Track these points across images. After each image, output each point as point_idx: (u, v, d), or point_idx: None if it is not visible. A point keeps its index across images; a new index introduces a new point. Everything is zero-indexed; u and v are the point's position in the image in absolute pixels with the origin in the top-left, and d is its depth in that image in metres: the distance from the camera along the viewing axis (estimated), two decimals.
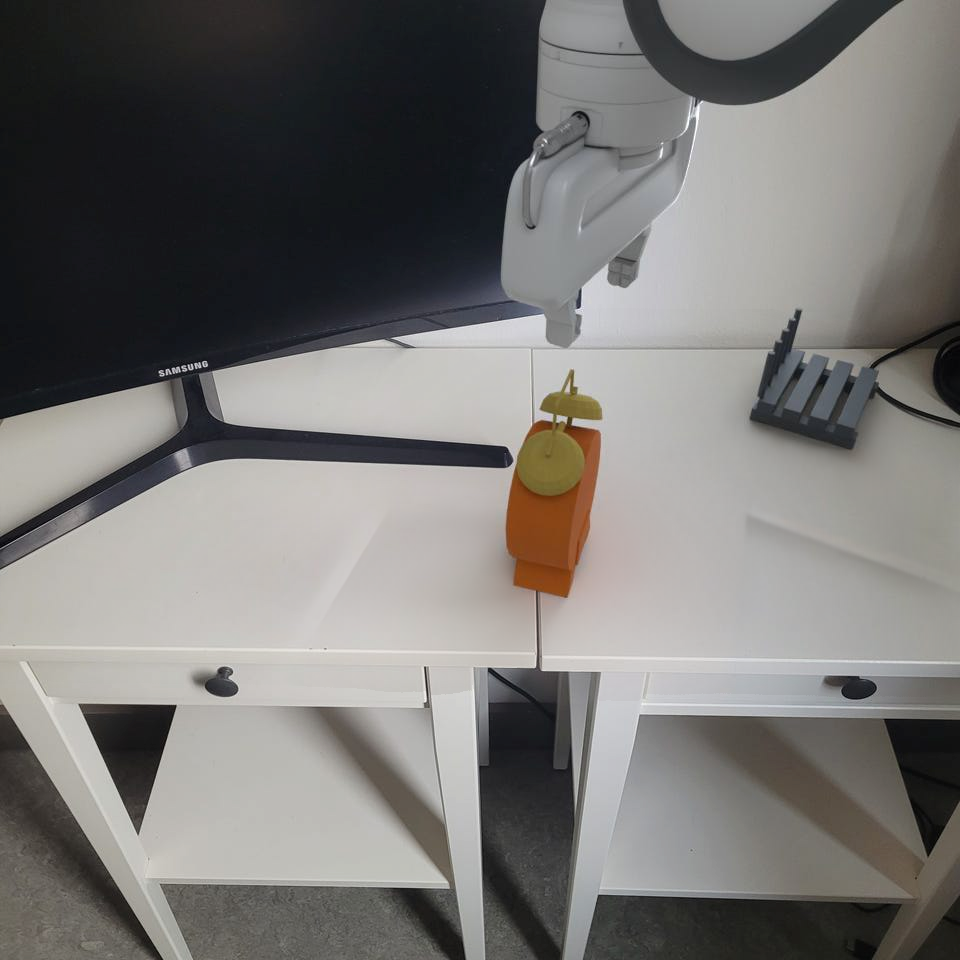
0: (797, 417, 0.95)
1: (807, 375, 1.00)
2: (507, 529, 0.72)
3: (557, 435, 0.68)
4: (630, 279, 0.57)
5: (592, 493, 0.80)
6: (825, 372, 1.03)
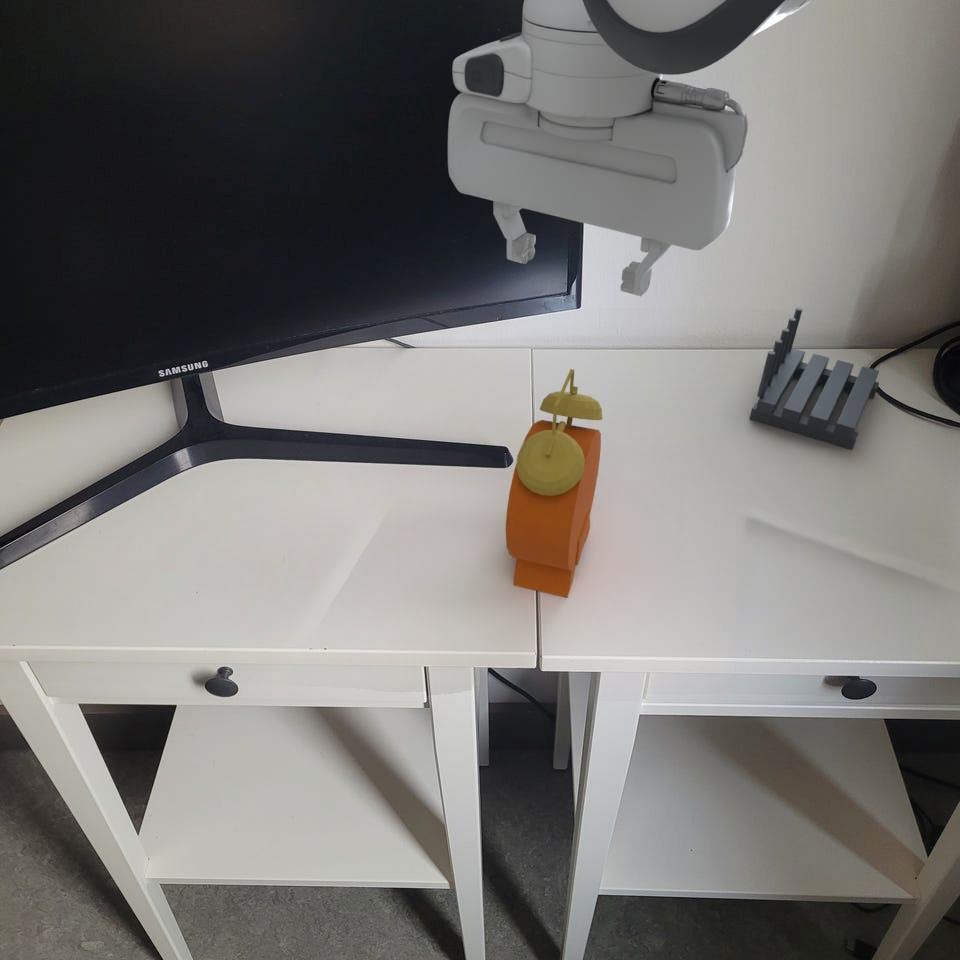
0: (797, 417, 0.95)
1: (807, 375, 1.00)
2: (507, 529, 0.72)
3: (557, 434, 0.68)
4: (533, 248, 0.62)
5: (592, 493, 0.80)
6: (825, 372, 1.03)
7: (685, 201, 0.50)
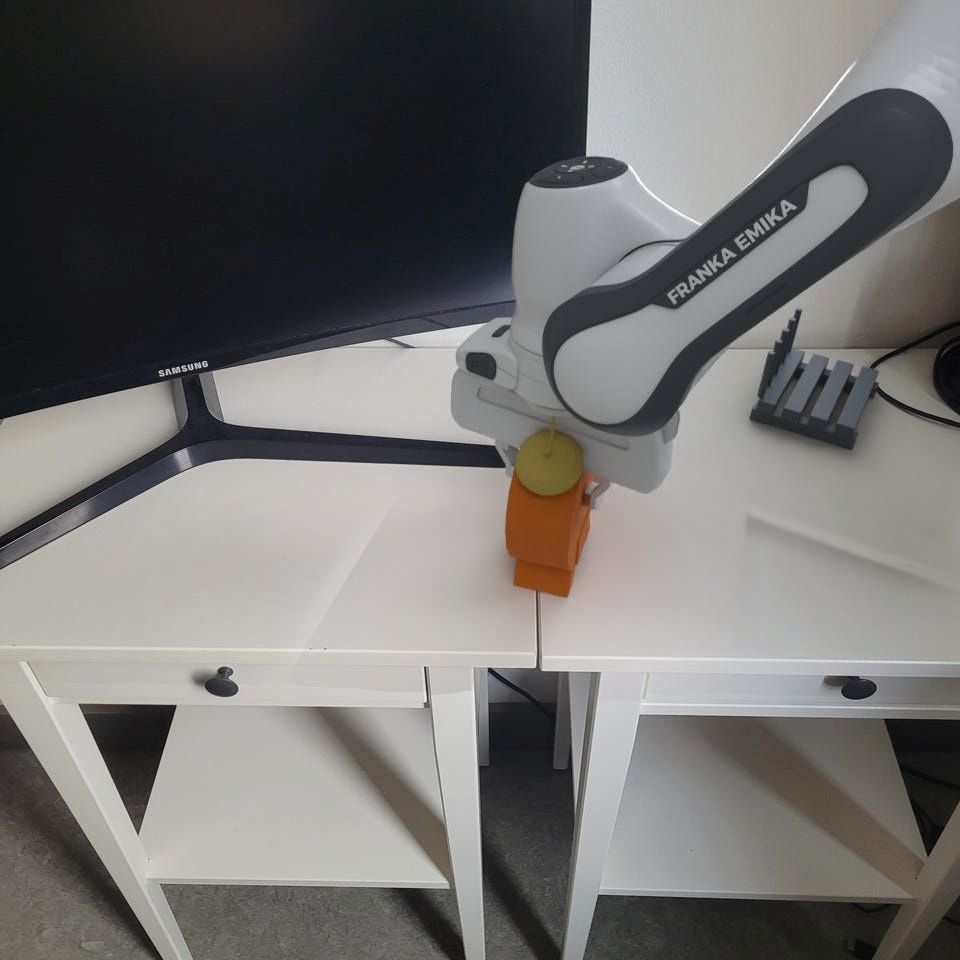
0: (797, 417, 0.95)
1: (807, 375, 1.00)
2: (507, 530, 0.72)
3: (555, 434, 0.68)
4: None
5: None
6: (825, 372, 1.03)
7: (636, 463, 0.66)
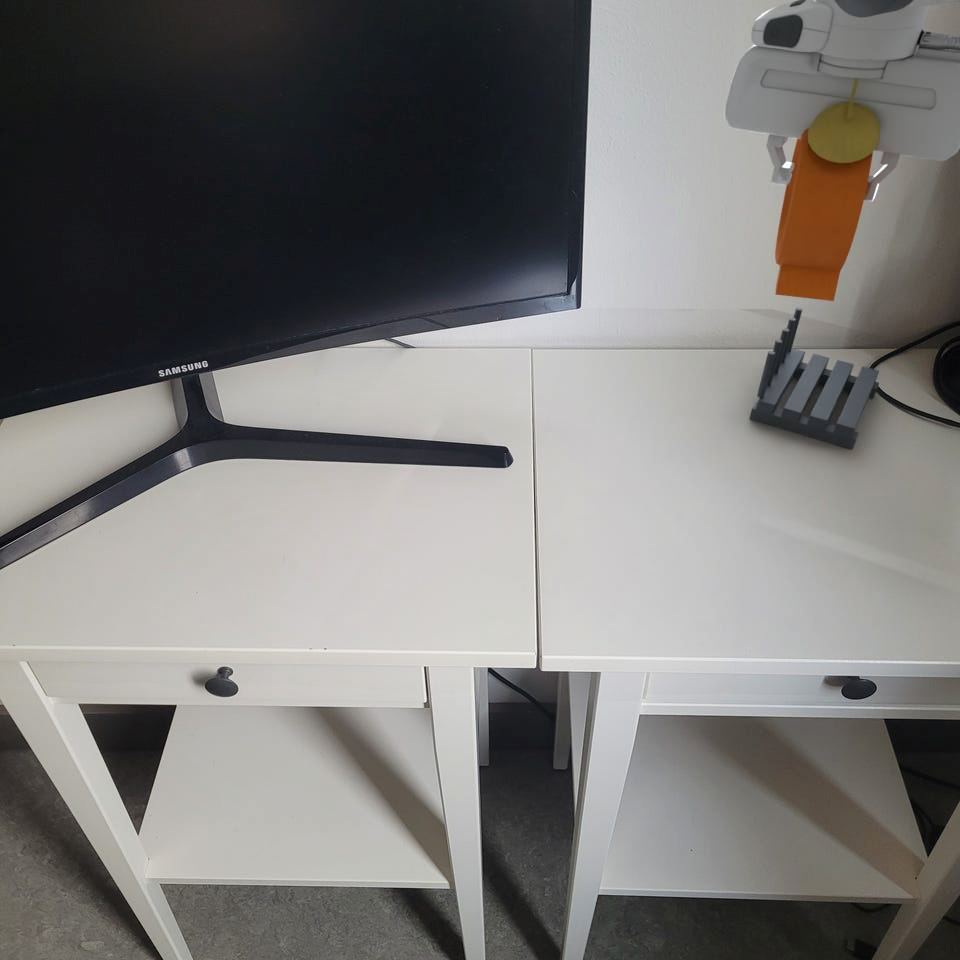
0: (797, 417, 0.95)
1: (807, 375, 1.00)
2: (791, 214, 0.73)
3: (853, 103, 0.69)
4: (790, 174, 0.78)
5: None
6: (825, 372, 1.03)
7: (940, 122, 0.68)
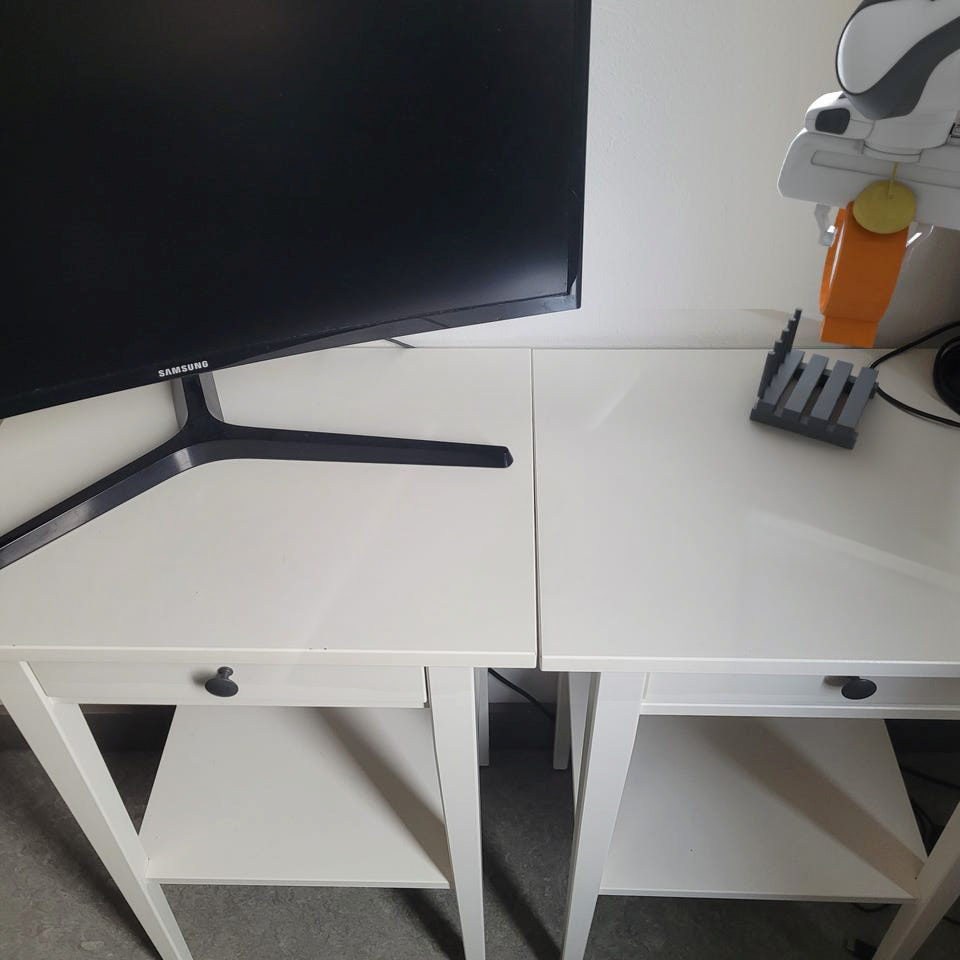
0: (797, 417, 0.95)
1: (807, 375, 1.00)
2: (837, 275, 0.84)
3: (893, 182, 0.80)
4: (834, 236, 0.89)
5: None
6: (825, 372, 1.03)
7: None
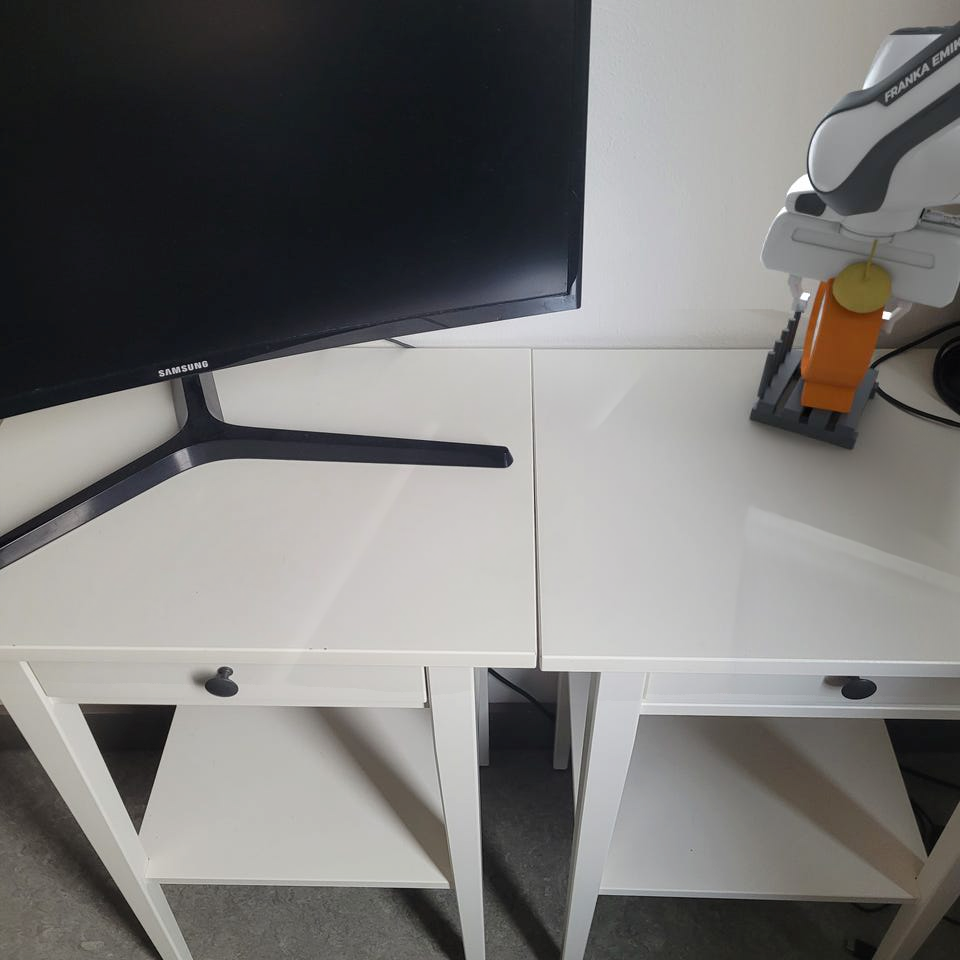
0: (797, 417, 0.95)
1: None
2: (817, 348, 0.89)
3: (870, 264, 0.85)
4: (807, 302, 0.95)
5: None
6: None
7: (938, 279, 0.84)
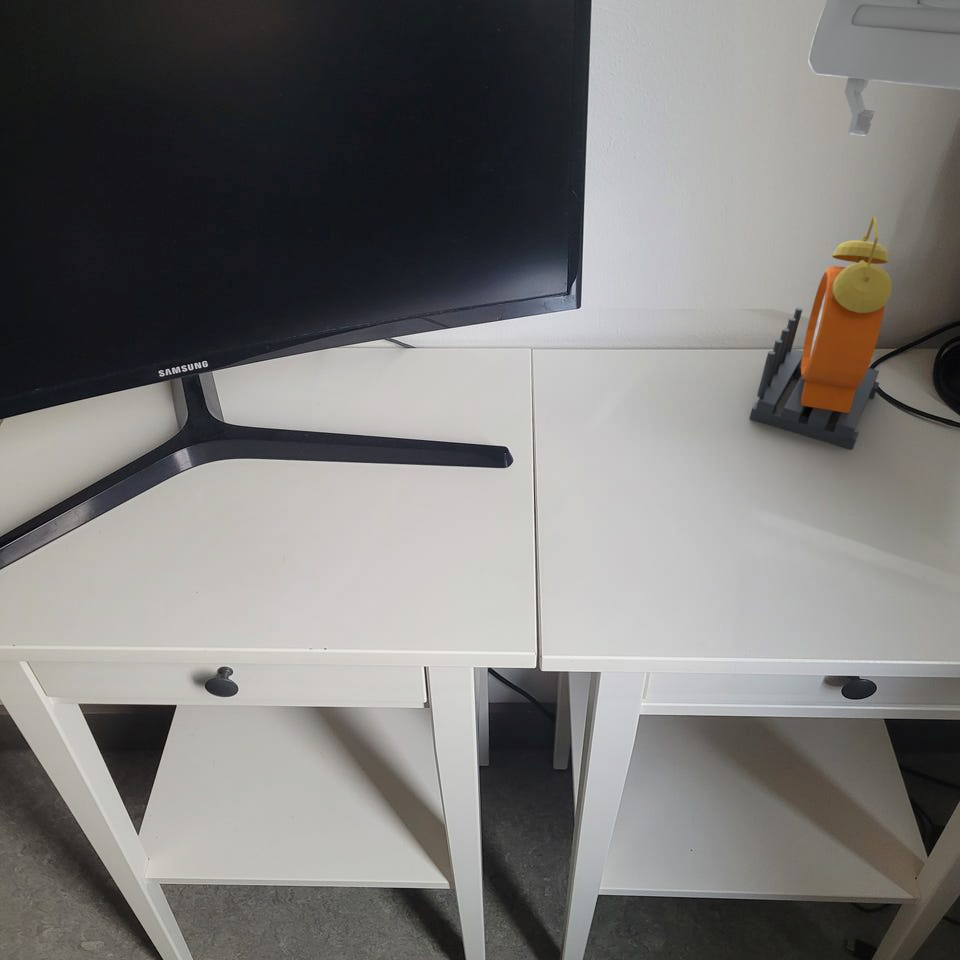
0: (797, 417, 0.95)
1: None
2: (817, 348, 0.89)
3: (870, 264, 0.85)
4: (869, 123, 0.72)
5: None
6: None
7: None
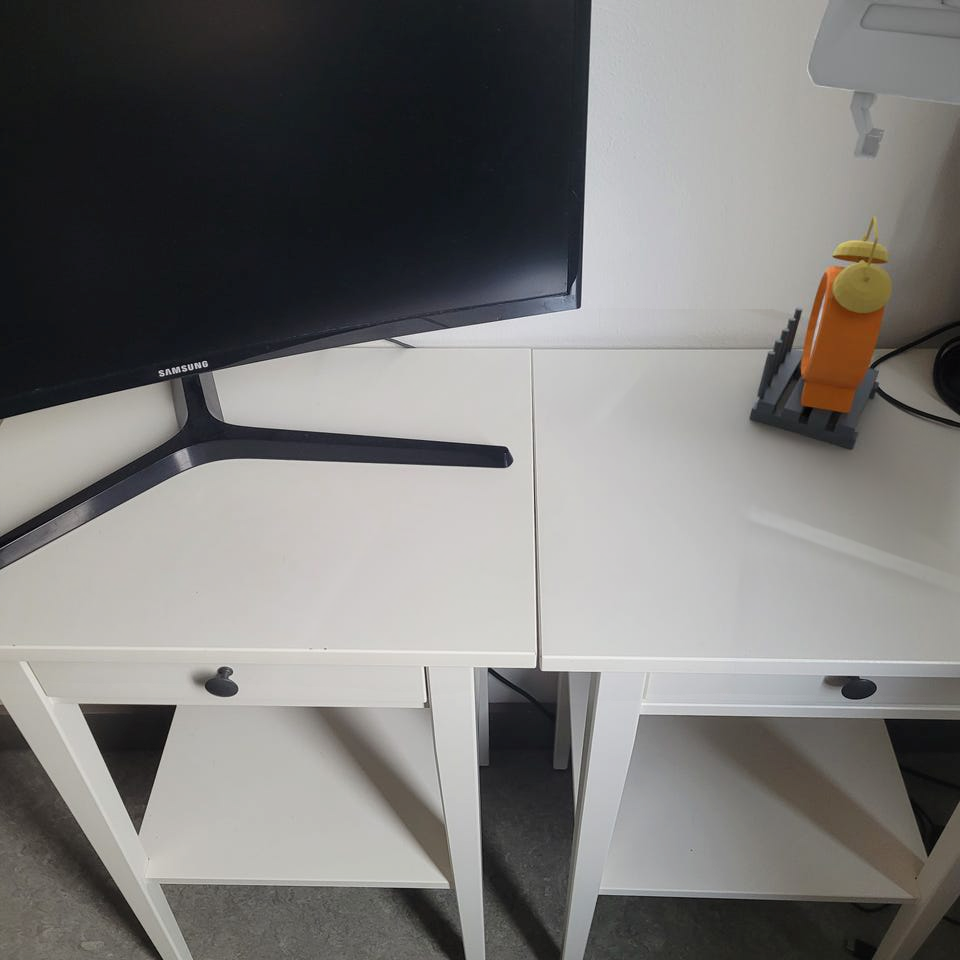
0: (797, 417, 0.95)
1: None
2: (817, 348, 0.89)
3: (870, 264, 0.85)
4: (878, 144, 0.61)
5: None
6: None
7: None
